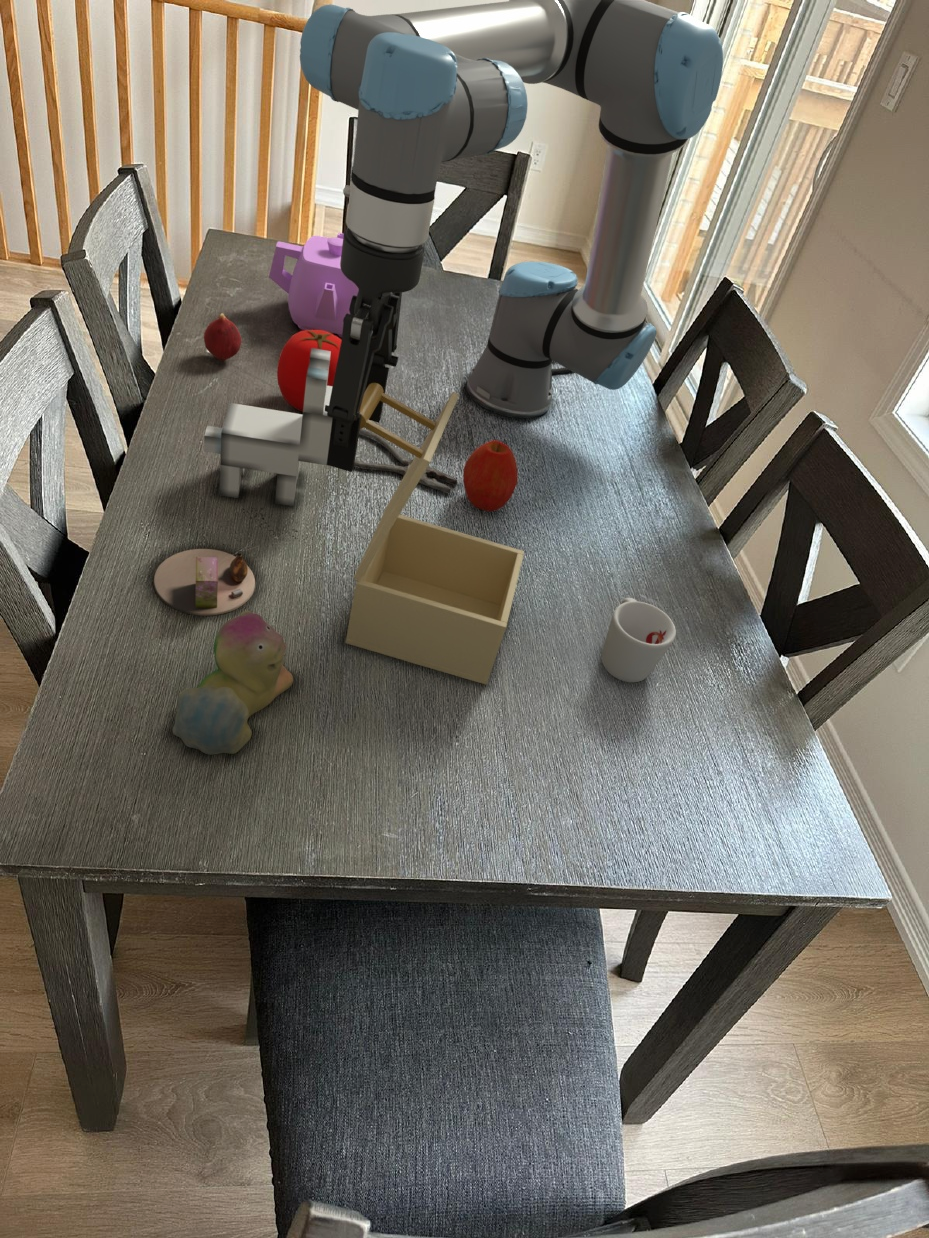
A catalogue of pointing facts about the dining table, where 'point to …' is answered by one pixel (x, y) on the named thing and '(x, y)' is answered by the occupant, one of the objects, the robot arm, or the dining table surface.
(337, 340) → the tomato
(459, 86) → the robot arm
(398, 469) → the pliers
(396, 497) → the lid
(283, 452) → the toy llama
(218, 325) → the onion
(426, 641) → the chest
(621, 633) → the cup
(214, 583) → the pink plate
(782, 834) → the dining table surface
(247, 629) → the sculpture
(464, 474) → the apple
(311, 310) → the teapot
